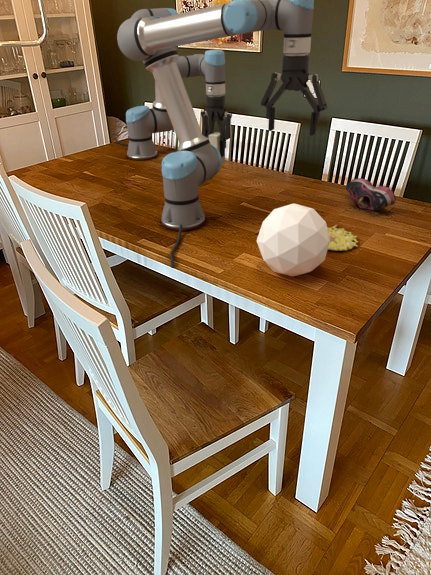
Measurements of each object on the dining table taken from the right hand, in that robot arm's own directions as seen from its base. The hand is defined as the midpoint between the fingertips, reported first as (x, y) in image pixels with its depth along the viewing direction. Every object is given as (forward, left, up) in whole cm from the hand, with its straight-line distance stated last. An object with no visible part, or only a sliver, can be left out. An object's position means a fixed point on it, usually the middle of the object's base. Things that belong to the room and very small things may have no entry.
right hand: (291, 132), depth 136 cm
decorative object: (-14, -10, -31) cm, 35 cm away
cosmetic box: (+48, +16, -23) cm, 55 cm away
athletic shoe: (+9, -32, -31) cm, 46 cm away
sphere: (-31, +8, -31) cm, 44 cm away
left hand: (+48, +16, -19) cm, 54 cm away
